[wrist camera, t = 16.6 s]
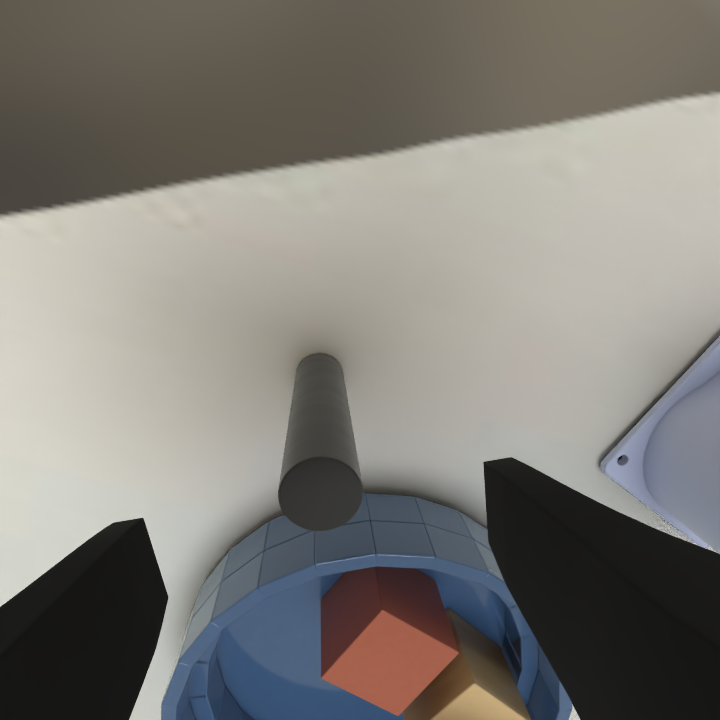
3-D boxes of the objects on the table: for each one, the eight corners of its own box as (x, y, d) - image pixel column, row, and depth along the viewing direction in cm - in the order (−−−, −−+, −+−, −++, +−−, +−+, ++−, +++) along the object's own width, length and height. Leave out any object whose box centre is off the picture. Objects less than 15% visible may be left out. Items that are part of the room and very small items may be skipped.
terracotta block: (370, 540, 21) (382, 609, 18) (435, 579, 22) (460, 653, 19) (319, 600, 22) (320, 678, 18) (385, 635, 23) (398, 717, 19)
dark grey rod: (314, 343, 19) (310, 441, 10) (352, 370, 20) (380, 486, 11) (286, 380, 19) (261, 505, 11) (324, 406, 20) (330, 545, 11)
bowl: (328, 419, 20) (330, 473, 16) (593, 594, 24) (652, 675, 20) (123, 679, 23) (78, 783, 19) (390, 796, 27) (404, 903, 23)
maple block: (448, 607, 23) (474, 683, 19) (500, 645, 24) (534, 726, 20) (392, 656, 23) (406, 740, 20) (445, 692, 24) (468, 779, 21)
